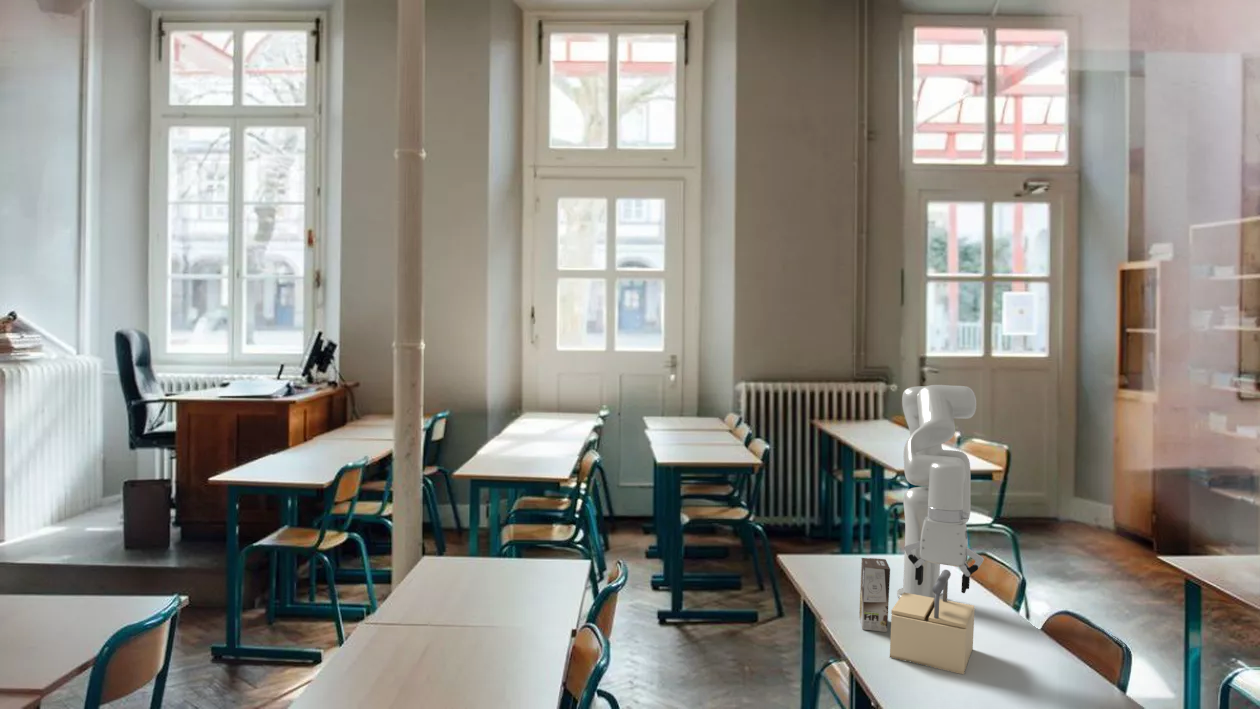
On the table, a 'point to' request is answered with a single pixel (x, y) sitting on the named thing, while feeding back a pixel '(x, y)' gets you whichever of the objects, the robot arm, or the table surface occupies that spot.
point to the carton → (928, 636)
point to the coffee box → (874, 594)
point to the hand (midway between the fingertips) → (941, 587)
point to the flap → (949, 606)
